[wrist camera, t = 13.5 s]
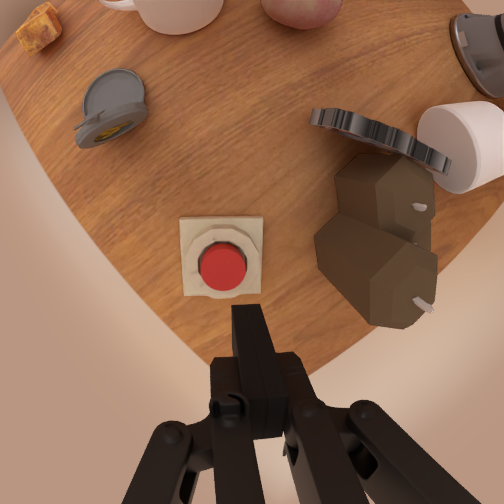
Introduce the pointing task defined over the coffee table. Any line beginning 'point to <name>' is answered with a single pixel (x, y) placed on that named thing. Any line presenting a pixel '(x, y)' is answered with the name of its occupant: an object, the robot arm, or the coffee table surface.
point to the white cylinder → (465, 142)
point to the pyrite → (39, 29)
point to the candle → (382, 240)
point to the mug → (171, 13)
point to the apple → (302, 12)
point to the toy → (380, 137)
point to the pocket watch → (111, 107)
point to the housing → (216, 232)
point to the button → (222, 267)
